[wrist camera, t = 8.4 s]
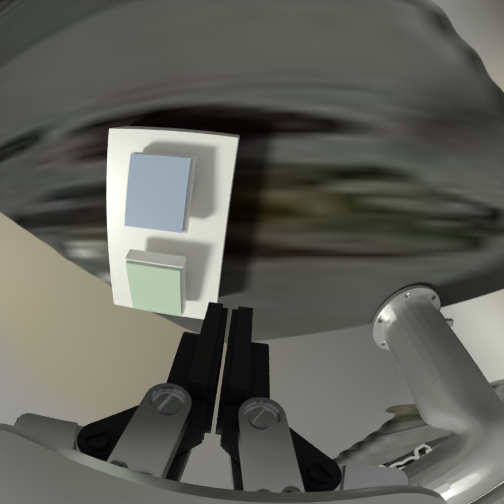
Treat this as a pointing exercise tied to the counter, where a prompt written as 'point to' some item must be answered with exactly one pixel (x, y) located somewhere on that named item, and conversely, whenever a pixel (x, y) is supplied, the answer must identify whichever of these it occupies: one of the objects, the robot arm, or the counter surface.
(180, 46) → the counter surface
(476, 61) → the counter surface
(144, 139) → the switch box
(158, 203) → the slate rocker
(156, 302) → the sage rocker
